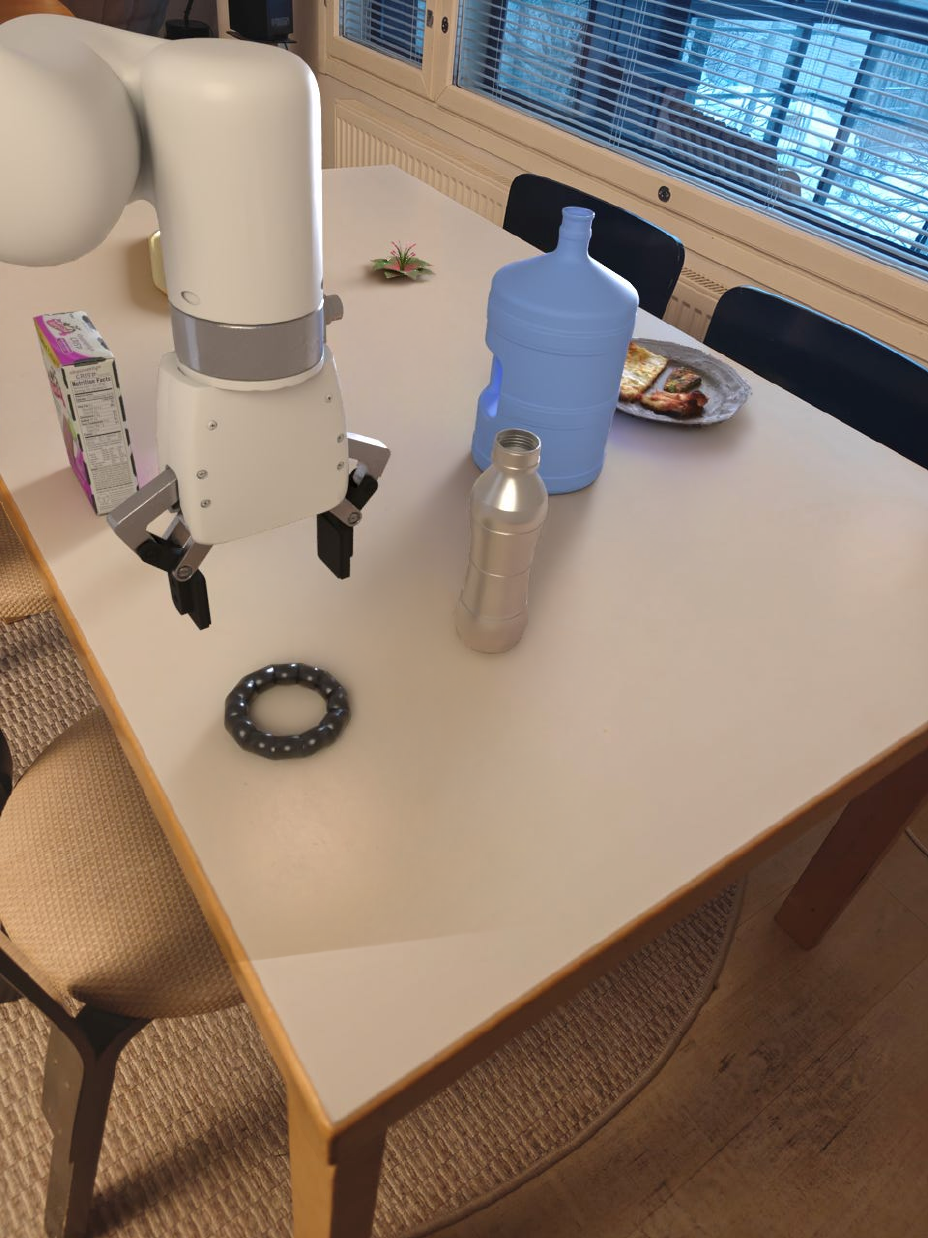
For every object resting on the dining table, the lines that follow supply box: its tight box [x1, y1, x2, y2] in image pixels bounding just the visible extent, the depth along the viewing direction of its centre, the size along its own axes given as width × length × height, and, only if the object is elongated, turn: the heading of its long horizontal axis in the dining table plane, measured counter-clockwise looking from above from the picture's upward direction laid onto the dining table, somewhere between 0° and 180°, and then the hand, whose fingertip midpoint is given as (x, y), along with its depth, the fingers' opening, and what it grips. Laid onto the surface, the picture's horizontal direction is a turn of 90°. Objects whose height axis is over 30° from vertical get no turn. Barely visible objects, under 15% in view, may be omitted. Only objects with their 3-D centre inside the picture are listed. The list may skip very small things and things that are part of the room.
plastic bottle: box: [454, 429, 550, 654], centre depth 71 cm, size 6×7×20 cm
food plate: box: [615, 337, 753, 429], centre depth 118 cm, size 25×23×4 cm
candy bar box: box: [32, 310, 141, 517], centre depth 85 cm, size 11×5×16 cm, turn 32°
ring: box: [223, 662, 351, 761], centre depth 68 cm, size 10×10×2 cm
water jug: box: [470, 206, 640, 495], centre depth 93 cm, size 16×16×28 cm
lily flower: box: [369, 240, 437, 281], centre depth 144 cm, size 12×12×5 cm
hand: (267, 590), depth 55 cm, fingers open, 9 cm apart
